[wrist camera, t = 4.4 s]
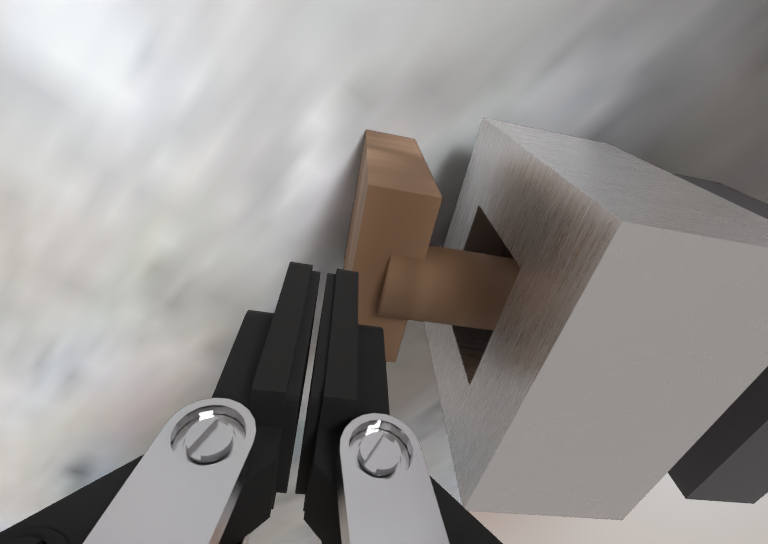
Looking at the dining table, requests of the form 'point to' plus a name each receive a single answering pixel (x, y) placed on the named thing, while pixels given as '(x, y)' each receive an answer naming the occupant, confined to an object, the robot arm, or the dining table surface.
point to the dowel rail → (414, 250)
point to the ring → (730, 423)
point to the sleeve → (594, 324)
